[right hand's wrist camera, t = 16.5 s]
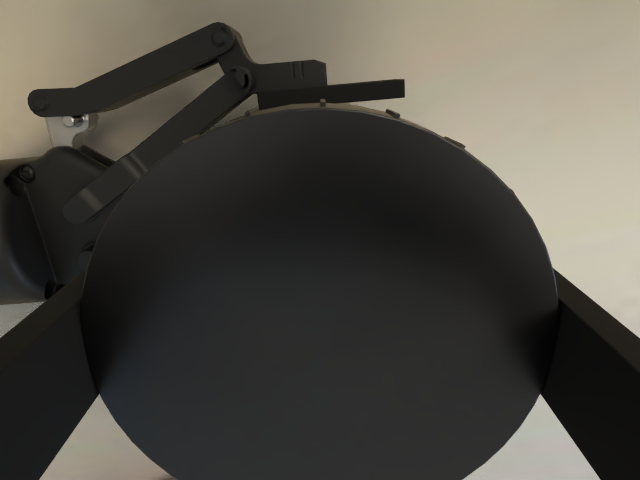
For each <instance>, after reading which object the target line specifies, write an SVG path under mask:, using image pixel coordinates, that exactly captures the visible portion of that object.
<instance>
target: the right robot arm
mask: <svg viewBox="0 0 640 480" xmlns="http://www.w3.org/2000/svg"><path fill="white" fill-rule="evenodd" d="M86 269H87V268H86ZM86 269H85V270H84V271H83V272H81V273H80V274H79V275H78V276H76V277H75V278H74V279H73V280H71V281H70V282H69V283H68V284H66V285H65V286H64V287H63V288H62V289H60V290H59V291H58V292H57V293H55V294H54V295H53V296H52V297H50V298H49V299H48V300H47V301H46V302H44V303H43V304H42V305H41V306H39V307H38V308H37V309H36V310H34V311H33V312H32V313H31V314H30V315H28V316H27V317H26V318H25V319H23V320H22V321H21V322H20V323H18V324H17V325H16V326H15V327H14V328H12V329H11V330H10V331H9V332H7V333H6V334H5V335H4V336H2V337H1V338H0V480H39V479H40V478H41V476H42V475H43V473H44V472H45V470H46V469H47V468H48V466H49V465H50V463H51V462H52V460H53V459H54V458H55V456H56V455H57V453H58V452H59V450H60V449H61V448H62V446H63V445H64V443H65V442H66V440H67V439H68V438H69V436H70V435H71V433H72V432H73V430H74V429H75V428H76V426H77V425H78V423H79V422H80V420H81V419H82V418H83V416H84V415H85V413H86V412H87V410H88V409H89V408H90V406H91V405H92V403H93V402H94V400H95V399H96V398H97V396H98V395H99V391H98V389H97V387H96V384H95V382H94V380H93V378H92V375H91V372H90V368H89V365H88V361H87V357H86V352H85V348H84V343H83V336H82V328H81V299H82V290H83V285H84V280H85V274H86ZM553 271H554V274H555V281H556V288H557V295H558V302H559V314H558V335H557V341H556V347H555V351H554V356H553V360H552V364H551V367H550V370H549V373H548V376H547V379H546V382H545V384H544V386H543V388H542V390H541V393H540V394H541V395H542V397H543V398H544V399H545V401H546V402H547V404H548V405H549V407H550V408H551V409H552V411H553V412H554V414H555V415H556V417H557V418H558V419H559V421H560V422H561V424H562V425H563V427H564V428H565V429H566V431H567V432H568V434H569V435H570V437H571V438H572V439H573V441H574V442H575V444H576V445H577V447H578V448H579V449H580V451H581V452H582V454H583V455H584V456H585V458H586V459H587V461H588V462H589V464H590V465H591V466H592V468H593V469H594V471H595V472H596V474H597V475H598V476H599V478H600V479H601V480H640V338H639V337H637V336H636V335H635V334H634V333H632V332H631V331H630V330H629V329H627V328H626V327H625V326H624V325H623V324H621V323H620V322H619V321H618V320H616V319H615V318H614V317H613V316H611V315H610V314H609V313H608V312H606V311H605V310H604V309H603V308H602V307H600V306H599V305H598V304H597V303H595V302H594V301H593V300H592V299H590V298H589V297H588V296H587V295H586V294H584V293H583V292H582V291H581V290H579V289H578V288H577V287H576V286H574V285H573V284H572V283H571V282H570V281H568V280H567V279H566V278H565V277H563V276H562V275H561V274H560V273H558V272H557V271H556V270H555V269H553Z"/></svg>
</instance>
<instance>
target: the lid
mask: <svg viewBox="0 0 640 480" xmlns="http://www.w3.org/2000/svg"><path fill="white" fill-rule="evenodd" d="M245 114H246V116H243V117H240V118H237V119H234V120H231V121H229V122H227V123H225V124H223V125H221V126H219V127H216V128H214V129H212V130H210V131H208V132H206V133H204V134H202V135H200V134H196V135H194V136H192V137H190V138H188V139H185V140H183V141H181V142H180V143H179V144H180V147H179V148H177V149H176V150H174V151H173V152H171V153H170V154H169V155H167V156H166V157H164V158H163V159H161V160H160V161H159V162H157V163H156V164H154V165H153V166H152V167H151V168H150V169H149V170H148V171H147V172H146V173H145V174H144V175H143V176H142V177H141V178H140V179H139V180H138V181H137V182H136V183H135V184H133V185H131V186H130V187H129V190H128V191H127V193H126V194H125V195H124V197H123V198H122V199H121V200H120V202H119V203H118V204H117V206H116V207H115V208H114V210H113V211H112V212H111V214H110V216H109V218H108V219H107V221H106V223H105V225H104V227H103V229H102V230H101V232H100V234H99V236H98V238H97V240H96V243H95V245H94V248H93V251H92V254H91V257H90V259H89V262H88V265H87V269H86V274H85V280H84V285H83V290H82V299H81V328H82V336H83V343H84V348H85V352H86V357H87V361H88V365H89V368H90V372H91V375H92V378H93V380H94V382H95V384H96V387H97V389H98V391H99V393H100V396H101V398H102V400H103V401H104V403H105V405H106V406H107V408H108V410H109V411H110V413H111V414H112V416H113V418H114V419H115V421H116V422H117V424H118V425H119V426H120V427H121V428H122V430H123V431H124V432H125V433H126V435H127V436H128V437H129V438H130V440H131V441H132V442H133V443H134V444H135V445H136V446H137V447H138V448H139V449H140V450H141V451H142V452H143V453H144V454H145V455H146V456H147V457H148V458H150V459H151V460H152V461H153V462H155V463H156V464H157V465H158V466H160V467H161V468H162V469H164V470H165V471H166V472H167V473H169V474H170V475H172V476H173V477H175V478H176V479H178V480H462V479H464V478H465V477H467V476H468V475H469V474H471V473H472V472H473V471H475V470H476V469H478V468H479V467H480V466H482V465H483V464H484V463H485V462H487V461H488V460H489V459H490V458H491V457H492V456H493V455H494V454H495V453H496V452H498V451H499V450H500V449H501V448H502V447H503V446H504V445H505V444H506V442H507V441H508V440H509V439H510V438H511V437H512V436H513V434H514V433H515V432H516V431H517V430H518V429H519V427H520V426H521V425H522V423H523V422H524V420H525V419H526V417H527V415H528V414H529V412H530V411H531V409H532V408H533V406H534V405H535V403H536V401H537V399H538V397H539V395H540V393H541V390H542V388H543V386H544V384H545V382H546V379H547V376H548V373H549V370H550V367H551V364H552V360H553V356H554V351H555V347H556V341H557V335H558V314H559V302H558V295H557V288H556V281H555V274H554V271H553V268H552V264H551V261H550V258H549V255H548V252H547V248H546V246H545V244H544V242H543V239H542V237H541V235H540V233H539V231H538V229H537V227H536V225H535V223H534V221H533V219H532V218H531V216H530V215H529V214H528V212H527V211H526V209H525V208H524V207H523V205H522V204H521V202H520V201H519V199H518V198H517V197H516V195H515V194H514V192H513V190H511V189H510V188H508V187H507V185H506V184H505V183H504V182H503V181H502V180H501V179H500V178H499V177H498V176H497V175H496V174H495V173H494V172H493V171H492V170H491V169H490V168H488V167H487V166H486V165H484V164H483V163H482V162H480V161H479V160H478V159H476V158H475V157H474V156H473V155H471V154H470V153H469V152H467V151H466V150H465V149H464V148H465V146H464V145H463V144H461V143H459V142H457V141H454V140H452V139H450V138H448V137H446V136H445V137H444V138H443V137H441V136H440V135H438V134H436V133H434V132H432V131H430V130H428V129H426V128H424V127H422V126H420V125H417V124H415V123H413V122H410V121H407V120H405V119H402V118H400V114H398V113H396V112H394V111H392V110H389V109H386V112H382V111H378V110H374V109H369V108H365V107H360V106H356V105H345V104H334V103H326V102H325V99H320V103H307V104H291V105H286V106H280V107H275V108H270V109H265V110H260V111H259V108H254V109H252V110H250V111H248V112H245Z"/></svg>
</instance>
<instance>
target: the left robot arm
mask: <svg viewBox="0 0 640 480" xmlns="http://www.w3.org/2000/svg"><path fill="white" fill-rule="evenodd" d="M217 63H219V64H220V66H221V68H222V70H223V72H224V74H225V75H224V76H223V77H221V78H220V79H219V80H218V81H217V82H215V83H214V84H213V85H212V86H210V87H209V88H208V89H207V90H206V91H204V92H203V93H202V94H201V95H199V96H198V97H197V98H196V99H195V100H193V101H192V102H191V103H190V104H188V105H187V106H186V107H185V108H184V109H182V110H181V111H180V112H179V113H177V114H176V115H175V116H174V117H173V118H171V119H170V120H169V121H168V122H166V123H165V124H164V125H163V126H162V127H160V128H159V129H158V130H157V131H156V132H154V133H153V134H152V135H151V136H149V137H148V138H147V139H146V140H145V141H143V142H142V143H141V144H140V145H138V146H137V147H136V148H135V149H134V150H132V151H131V152H130V153H128V154H126V155H125V156H123V157H122V158H120V159H119V160H118V161H117V162H115V161H113V160H111V159H109V158H107V157H106V156H104V155H102V154H100V153H98V152H97V151H95V150H93V149H91V148H89V147H87V146H85V145H83V144H82V137H83V135H84V133H86V132H87V131H90V130H92V129H94V128H95V127H96V126H97V125H98V120H99V115H98V113H99V112H105V111H110V110H114V109H116V108H119V107H122V106H124V105H126V104H128V103H131V102H133V101H135V100H137V99H139V98H142V97H144V96H146V95H148V94H150V93H153V92H155V91H157V90H159V89H161V88H164V87H166V86H168V85H170V84H172V83H175V82H177V81H179V80H181V79H184V78H186V77H188V76H190V75H192V74H195V73H197V72H199V71H201V70H203V69H206V68H208V67H210V66H212V65H214V64H217ZM252 94H257V97H258V104H259V110H265V109H270V108H275V107H280V106H286V105H291V104H307V103H320V99H325V102H326V103H334V104H337V103H348V102H359V101H370V100H381V99H392V98H404V97H405V84H404V79H393V80H382V81H371V82H360V83H349V84H338V85H327V76H326V63H323V62H320V61H316V60H305V61H295V62H284V63H273V64H257V63H255V62H254V61H253V60H252V59H251V58H250V56H249V54H248V52H247V50H246V48H245V46H244V44H243V41H242V37H241V35H240V34H239V32H237V31H236V30H234V29H233V28H231V27H229V26H228V25H226V24H224V23H220V22H216V23H212V24H210V25H208V26H206V27H204V28H202V29H200V30H197V31H195V32H193V33H191V34H189V35H187V36H185V37H183V38H180V39H178V40H176V41H174V42H172V43H170V44H168V45H165V46H163V47H161V48H159V49H157V50H155V51H153V52H151V53H148V54H146V55H144V56H142V57H140V58H138V59H136V60H133V61H131V62H129V63H127V64H125V65H123V66H121V67H118V68H116V69H114V70H112V71H110V72H108V73H106V74H104V75H101V76H99V77H97V78H95V79H93V80H91V81H89V82H86V83H84V84H82V85H80V86H78V87H76V88H59V89H37V90H33V91H32V92H31V93H30V94H29V96H28V105H29V107H30V109H31V110H32V111H33V113H34V114H36V115H38V116H40V117H45V119H46V123H47V127H48V131H49V135H50V139H51V143H52V147H53V148H52V149H50V150H49V151H47V152H46V153H45V154H44V155H42V156H41V157H31V158H20V159H8V160H0V305H6V304H19V303H32V302H45V301H47V300H48V299H49V298H50V297H52V296H53V295H54V294H55V293H57V292H58V291H59V290H60V289H62V288H63V287H64V286H65V285H66V284H68V283H69V282H70V281H71V280H73V279H74V278H75V277H76V276H78V275H79V274H80V273H81V272H83V271H84V270H85V269H86V268H87V265H88V262H89V259H90V257H91V254H92V251H93V248H94V245H95V243H96V240H97V238H98V236H99V234H100V232H101V230H102V229H103V227H104V225H105V223H106V221H107V219H108V218H109V216H110V214H111V212H112V211H113V210H114V208H115V207H116V206H117V204H118V203H119V202H120V200H121V199H122V198H123V197H124V195H125V194H126V193H127V191H128V190H129V187H130V186H131V185H133V184H135V183H136V182H137V181H138V180H139V179H140V178H141V177H142V176H143V175H144V174H145V173H146V172H147V171H148V170H149V169H150V168H151V167H152V166H153V165H154V164H156V163H157V162H159V161H160V160H161V159H163V158H164V157H166V156H167V155H169V154H170V153H171V152H173V151H174V150H176V149H177V148H179V147H180V144H179V143H180V142H181V141H183V140H185V139H188V138H190V137H192V136H194V135H196V134H200V135H202V134H203V133H204V132H206V131H207V130H208V129H209V128H211V127H212V126H213V125H214V124H216V123H217V122H218V121H219V120H221V119H222V118H223V117H225V116H226V115H227V114H228V113H230V112H231V111H232V110H233V109H235V108H236V107H237V106H238V105H240V104H241V103H242V102H243V101H245V100H246V99H247V98H248V97H250V96H251V95H252Z"/></svg>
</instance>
